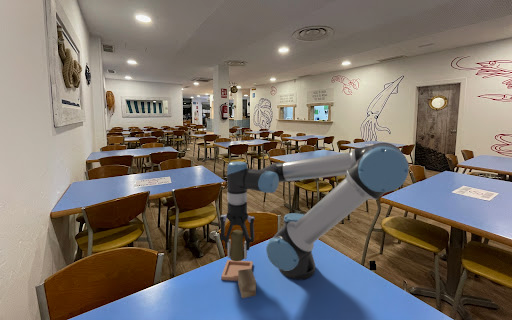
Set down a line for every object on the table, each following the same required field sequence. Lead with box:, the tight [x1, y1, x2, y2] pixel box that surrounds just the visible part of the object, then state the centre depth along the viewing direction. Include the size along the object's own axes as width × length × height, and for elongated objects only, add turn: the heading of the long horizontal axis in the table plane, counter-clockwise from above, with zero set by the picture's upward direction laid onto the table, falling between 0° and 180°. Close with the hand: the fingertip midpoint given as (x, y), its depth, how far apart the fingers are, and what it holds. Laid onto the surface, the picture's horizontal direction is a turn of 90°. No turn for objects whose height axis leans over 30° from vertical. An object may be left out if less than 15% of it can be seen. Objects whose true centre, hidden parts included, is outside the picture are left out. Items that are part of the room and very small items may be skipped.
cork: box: [229, 229, 245, 261], centre depth 96 cm, size 6×6×11 cm
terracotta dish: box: [220, 259, 254, 282], centre depth 98 cm, size 11×11×1 cm
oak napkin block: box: [237, 268, 257, 299], centre depth 87 cm, size 5×7×6 cm
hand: (237, 256), depth 97 cm, fingers closed on cork, 6 cm apart
